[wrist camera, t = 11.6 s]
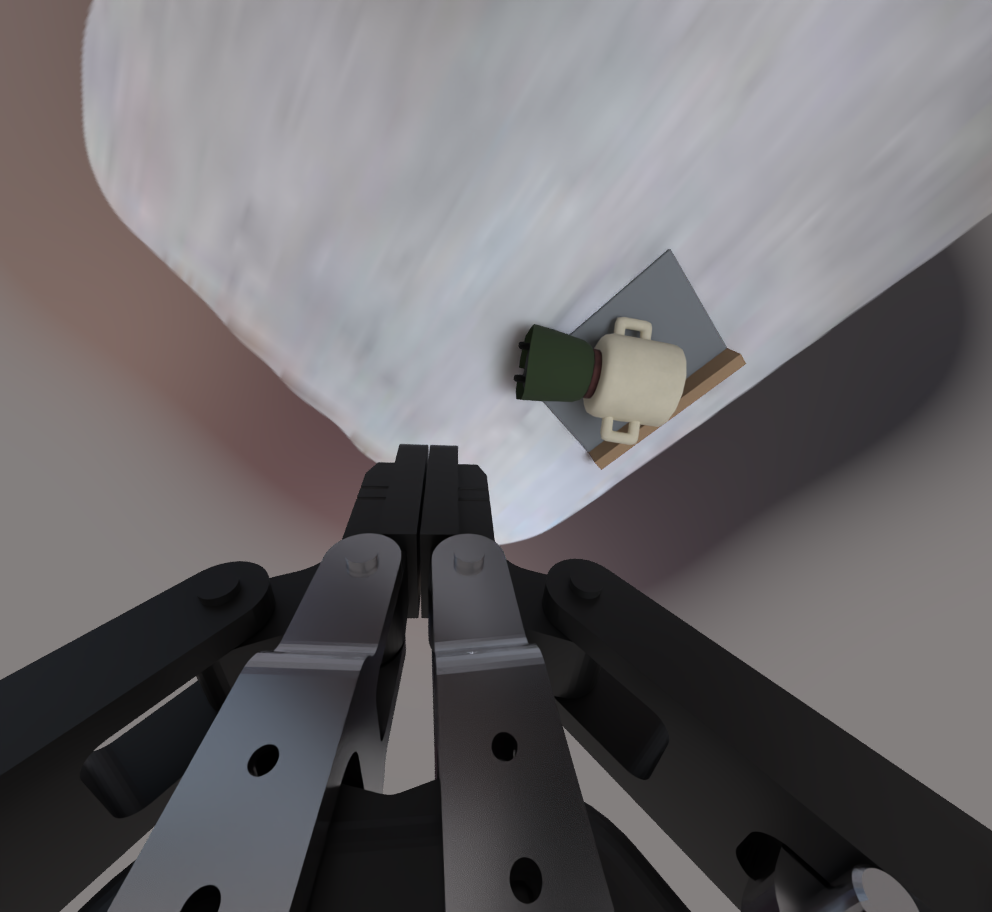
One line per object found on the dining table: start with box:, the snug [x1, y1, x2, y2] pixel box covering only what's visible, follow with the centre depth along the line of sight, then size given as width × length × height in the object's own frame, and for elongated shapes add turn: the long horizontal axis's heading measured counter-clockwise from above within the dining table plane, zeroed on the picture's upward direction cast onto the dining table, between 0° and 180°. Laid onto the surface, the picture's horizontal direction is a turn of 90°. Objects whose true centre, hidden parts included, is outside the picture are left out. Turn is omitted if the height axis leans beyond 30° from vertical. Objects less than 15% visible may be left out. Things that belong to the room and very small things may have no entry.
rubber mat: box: [523, 249, 746, 470], centre depth 37 cm, size 12×16×2 cm
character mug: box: [514, 317, 686, 445], centre depth 35 cm, size 11×7×13 cm
